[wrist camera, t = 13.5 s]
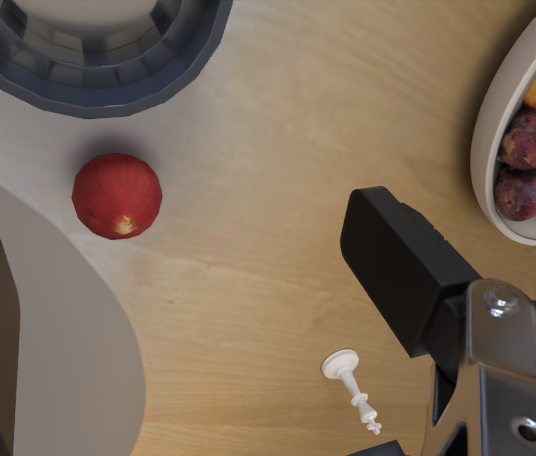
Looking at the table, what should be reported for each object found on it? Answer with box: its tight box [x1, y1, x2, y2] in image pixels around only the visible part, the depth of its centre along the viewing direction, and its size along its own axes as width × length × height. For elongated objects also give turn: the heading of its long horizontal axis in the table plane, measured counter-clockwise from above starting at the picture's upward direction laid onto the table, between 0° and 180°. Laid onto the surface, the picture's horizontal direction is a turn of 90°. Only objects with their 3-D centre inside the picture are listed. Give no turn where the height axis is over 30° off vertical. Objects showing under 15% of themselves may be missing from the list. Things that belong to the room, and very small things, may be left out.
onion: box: [72, 153, 162, 240], centre depth 33 cm, size 6×6×8 cm
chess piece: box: [321, 349, 382, 434], centre depth 58 cm, size 5×5×10 cm
